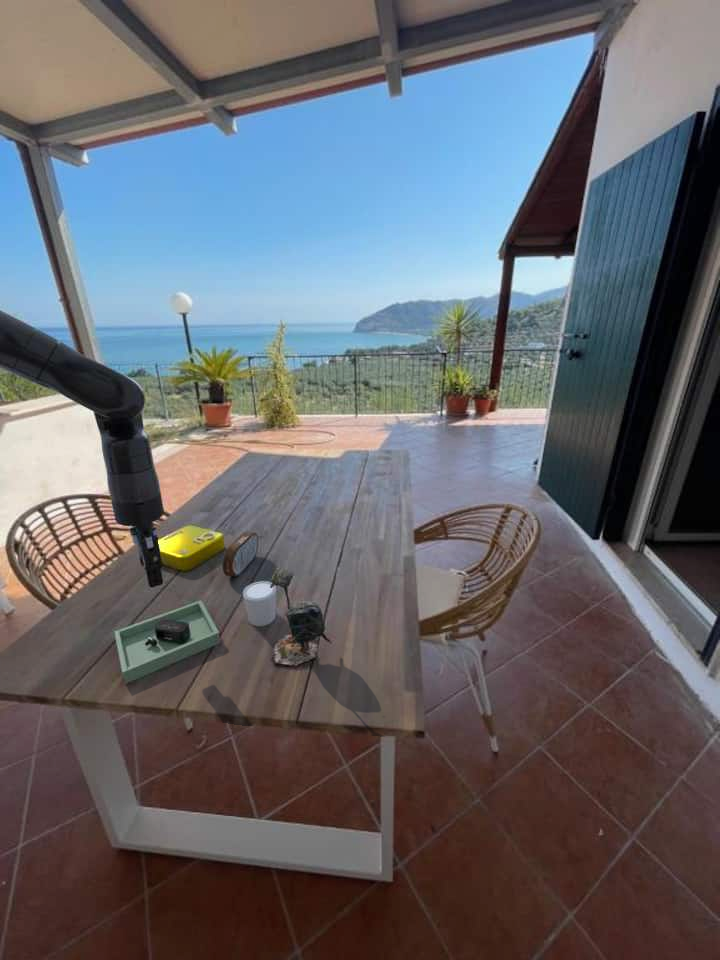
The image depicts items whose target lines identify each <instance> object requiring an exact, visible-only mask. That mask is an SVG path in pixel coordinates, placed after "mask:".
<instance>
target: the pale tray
mask: <svg viewBox="0 0 720 960" xmlns="http://www.w3.org/2000/svg"><path fill="white" fill-rule="evenodd" d="M162 619H167V620H173V621H180V622H186V623H189V628H190V633H191V636H190V638H189V639H188V640H187V641H186V642H185V643H184V644H176V643H171V642H165V641H159V640H157V639H156V634H155V630H154V626H155V625H156V624H157V623H158V622H159V621H160V620H162ZM114 637H115V638H114V639H115V643H116V648H117V654H118V658H119V664H120V669H121V673H122V678H123V681H124V684H125V685H127V684H129V683H131V682H133V681H136V680H138V679H141V678H143V677H145V676H147V675H150V674H152V673H154V672H156V671H159V670H161V669H164V668H166V667H168V666H171V665H173V664H176V663H178V662H181V661H182V660H184V659H187V658H190V657H192V656H194V655H196V654H198V653H201V652H204V651H205V650H207V649H210V648H212V647H215V646H217V645H219V644H221V634H220V631H219V629H218V628H217V626H216V624H215V623H214V621H213V619H212V617H211V615H210V613H209V611H208V610H207V608H206V606H205V603H204V602H203V601H202V600H197V601H195V602H192V603H189V604H187V605H183V606H181V607H179V608H176V609H173V610H170V611H168V612H165V613H162V614H159V615H156V616H153V617H151V618H148V619H145V620H143V621H140V622H137V623H134V624H131V625H128V626H126V627H122V628H119V629H118V630H115V631H114ZM149 638H153V639H155V640H156V641H157V645H155V646H152V645H150V644H148V646H145V643H146V642H148V639H149Z"/></svg>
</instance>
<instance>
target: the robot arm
mask: <svg viewBox="0 0 720 960" xmlns="http://www.w3.org/2000/svg"><path fill="white" fill-rule="evenodd" d="M0 369H1V370H3V371H5V372H7V373H9V374H12V375H14V376H17V377H19V378H21V379H23V380H26V381H28V382H30V383H32V384H35V385H37V386H40V387H42V388H44V389H47V390H50V391H52V392H55V393H57V394H60V395H62V396H64V397H65V398H67V399H69V400H71V401H72V402H74V403H76V404H78V405H80V406H82V407H84V408H85V409H88V410H89V411H92V412H93V415H94V419H95V423H96V426H97V428H98V432H99V436H100V441H101V443H100V444H101V453H102V458H103V462H104V466H105V471H106V480H107V489H108V493H109V497H110V502H111V507H112V511H113V515H114V520H115V522H116V523H117V524H118V525H121V526H124V527H128V530H129V535H130V537H131V539H132V543H133V544H134V545H135V548H136V551H137V552H136V553H137V556H138V558H139V561H140V565H141V566H142V567H143V569H144V570H145V573H146V577H147V578H146V579H147V582H148V586H149V588H155V587H158V586H161V585H163V584H164V580H163V579H164V578H163V573H162V568H163V567H164V565H163V562H162V560H161V555H160V545H159V542H158V540H159V532H158V529H157V527H156V526H155V521H158V520H159V519H161V518H162V517H163V516H164V513H165V509H164V503H163V497H162V491H161V487H160V481H159V476H158V473H157V470H156V467H155V463H154V462H155V461H154V456H153V455H154V454H153V451H152V445H151V442H150V439H149V436H148V434H147V432H146V430H145V426H144V421H143V415H142V413H143V410H144V408H145V405H146V395H145V393H144V390H143V388H142V386H141V385H140V384H139V383H138V382H137V381H136V380H135V379H134V378H131V377H130V376H128V375H126V374H123V373H121V372H119V371H117V370H115V369H113V368H111V367H109V366H106V365H105V364H102V363H100V362H98V361H97V360H94V359H92V358H90V357H87V356H85V355H83V354H82V353H80V352H79V351H77V350H76V349H74V348H73V347H71V346H70V345H68V344H66V343H65V342H62V341H61V340H59V339H57V338H55V337H54V336H51V335H50V334H48V333H46V332H44V331H42V330H40V329H38V328H36V327H35V326H32V325H30V324H28V323H26V322H24V321H22V320H21V319H19V318H16V317H15V316H13V315H11V314H9V313H6V312H5V311H2V310H0ZM153 557H156V560H155V561H154V558H153Z"/></svg>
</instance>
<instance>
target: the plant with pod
mask: <svg viewBox="0 0 720 960" xmlns="http://www.w3.org/2000/svg"><path fill="white" fill-rule="evenodd" d="M293 575H294V572H293V571H291V570H289V569H288V568H285V567H281V566H277V568H276V569H275V572H274V573H273V575H272V577H271V583H272V584H271V586H270V588H272V587H273V586H274V585H275V586H280V587H281V588H283V590H284V594H285V597H286V603H287V611H286V613H285V616H286V619H287V623H288V626H289V629H290V631H291V634H287V635H285V637H284V638H280V639H278V641H276V642H275V643H274V647H273V651H272V655H271V658H270V661H271V662H272V663H274V664H280V665H288V666H289V665H290V666H292V665H293V667H296V666H298V665H300V664H303V663H306V662H309V661H310V660H313V659H316V658H317V657H318V643H319V641H318V640H317V638H319V637H322V638H323V639H324V640H325V641H327V642H328V643H329V644H332V640H331V638H329V637H327V635H326V634H325V630H326V625H325V617H324V614H323V611H322V609H321V607H320V605H319V604H318V603H317V602H315V601H313V600H304V601H300V602H296V603H294V605H291V604H290V603H291V602H290V597H289V595H288V594H289V586H290V585H291V582H292V578H293ZM290 606H291V607H290Z"/></svg>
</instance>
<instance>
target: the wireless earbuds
mask: <svg viewBox="0 0 720 960" xmlns="http://www.w3.org/2000/svg"><path fill="white" fill-rule="evenodd" d="M154 630H155V634H156V639H157V640H159V641H165V642H171V643H176V644H184V643H185V642H186V641H187V640H188V639H189V638H190V636H191V633H190V628H189V623H186V622H180V621H173V620H167V619H162V620H160V621H159V622H158V623H157V624H156V625H155V626H154ZM148 644H150V645H152V646H155V645H157V641H156V640H155V639H153V638H149V639H148V642H146V643H145V646H148Z"/></svg>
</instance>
